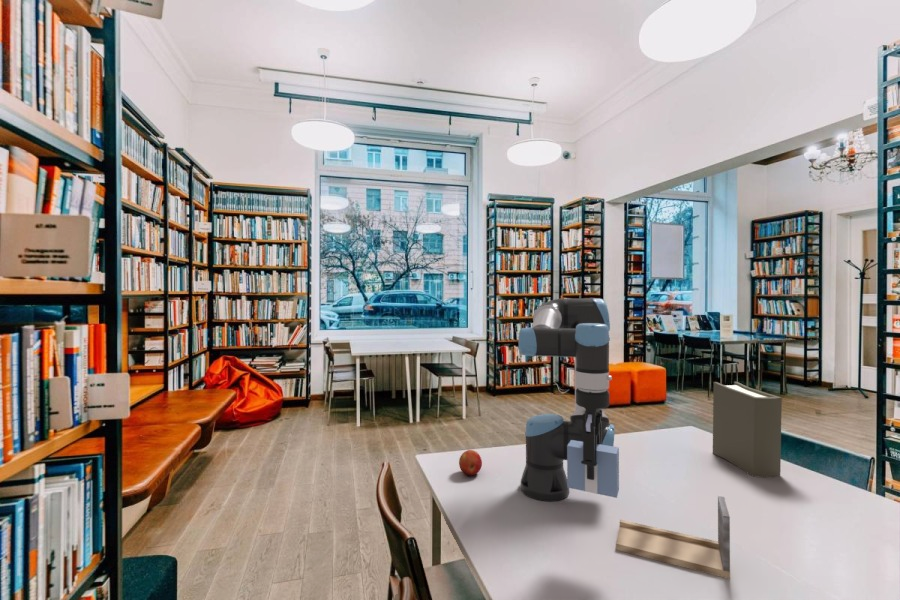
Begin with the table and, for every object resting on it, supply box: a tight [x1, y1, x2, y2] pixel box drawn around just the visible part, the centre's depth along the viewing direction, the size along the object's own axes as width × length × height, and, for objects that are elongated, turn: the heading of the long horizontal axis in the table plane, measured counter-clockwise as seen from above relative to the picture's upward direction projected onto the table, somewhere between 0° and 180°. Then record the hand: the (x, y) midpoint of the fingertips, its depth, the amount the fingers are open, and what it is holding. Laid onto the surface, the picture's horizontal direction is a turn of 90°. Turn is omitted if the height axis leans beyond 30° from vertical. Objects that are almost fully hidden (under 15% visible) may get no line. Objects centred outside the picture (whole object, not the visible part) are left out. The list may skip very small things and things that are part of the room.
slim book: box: [566, 440, 620, 499], centre depth 97 cm, size 11×4×10 cm, turn 62°
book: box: [712, 381, 783, 478], centre depth 149 cm, size 22×9×28 cm, turn 2°
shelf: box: [615, 495, 731, 580], centre depth 99 cm, size 23×10×14 cm, turn 62°
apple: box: [458, 449, 483, 477], centre depth 143 cm, size 8×8×8 cm
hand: (593, 486), depth 97 cm, fingers closed on slim book, 4 cm apart
